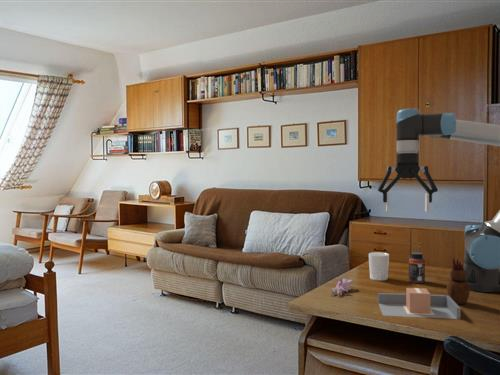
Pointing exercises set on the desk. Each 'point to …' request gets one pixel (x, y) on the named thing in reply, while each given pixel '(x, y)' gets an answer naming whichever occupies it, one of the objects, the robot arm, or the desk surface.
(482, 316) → the desk surface
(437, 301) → the tray
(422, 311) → the cube
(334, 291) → the rabbit figure
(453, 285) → the wooden figurine
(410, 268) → the supplement bottle
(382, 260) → the white cup
